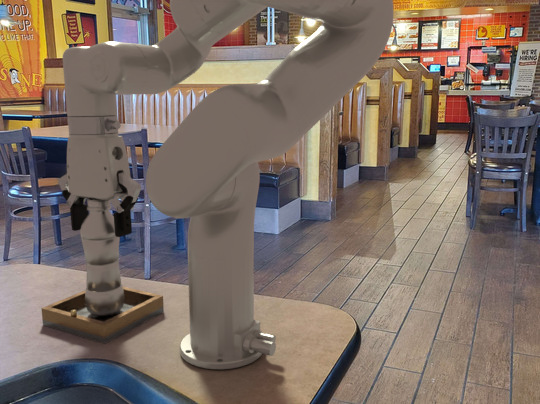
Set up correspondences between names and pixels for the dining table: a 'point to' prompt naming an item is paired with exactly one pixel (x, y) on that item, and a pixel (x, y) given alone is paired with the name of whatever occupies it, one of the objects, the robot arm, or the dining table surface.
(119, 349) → the dining table surface
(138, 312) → the collar base
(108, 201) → the plastic bottle
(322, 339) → the dining table surface
